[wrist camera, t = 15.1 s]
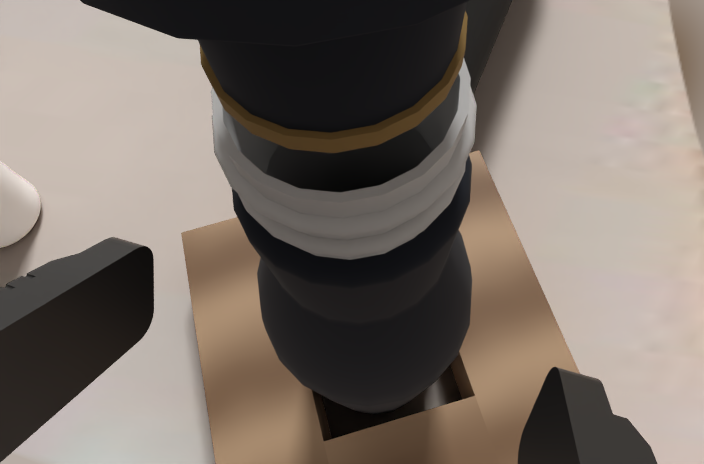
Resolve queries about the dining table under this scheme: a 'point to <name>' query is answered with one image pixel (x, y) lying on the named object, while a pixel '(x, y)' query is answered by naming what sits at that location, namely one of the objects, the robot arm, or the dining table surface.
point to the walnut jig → (401, 434)
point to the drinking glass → (16, 206)
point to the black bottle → (344, 177)
